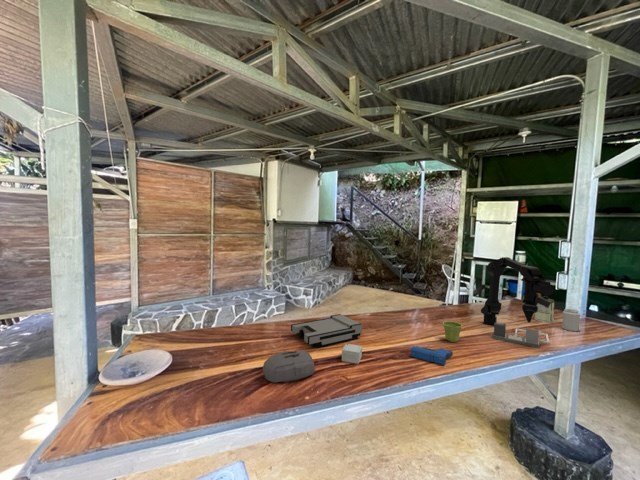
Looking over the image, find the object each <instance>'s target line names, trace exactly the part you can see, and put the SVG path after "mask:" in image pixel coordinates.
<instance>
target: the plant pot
mask: <svg viewBox="0 0 640 480" xmlns="http://www.w3.org/2000/svg"><path fill="white" fill-rule="evenodd" d="M442 325H443V327H444V335H445V336H444V337H445V340H446V341H448V342H451V343H452V342H453V343H457V342H459V339H460V333H461V329H462V327H463V324H461V323H459V322H456V321H450V320H445V321H443V322H442Z"/></svg>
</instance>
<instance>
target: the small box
mask: <svg viewBox="0 0 640 480" xmlns="http://www.w3.org/2000/svg"><path fill="white" fill-rule="evenodd" d="M362 349H363V346H362V345H357V344H352V343H345V345H344V346H343V347H342V349H341V361H342V362H346V363H352V364H357V365H359V364H360V361H361V359H362V355H363V353H362V352H363V350H362Z"/></svg>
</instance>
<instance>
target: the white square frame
mask: <svg viewBox="0 0 640 480" xmlns="http://www.w3.org/2000/svg"><path fill="white" fill-rule="evenodd" d="M518 332H523V333H526V329H521V328H515V332H514V335H516V336H519V337H524V338H526V336H522V335H518ZM539 335H540V336H544V337H545V339H546V340H544V339H543V340H542V339H538V340H539V343H543V344H548V345H549V344H550V339H549V335H548V333H544V332H539V334H538V336H539Z"/></svg>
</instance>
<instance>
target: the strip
mask: <svg viewBox="0 0 640 480" xmlns="http://www.w3.org/2000/svg"><path fill="white" fill-rule="evenodd" d="M519 336H520V335H518V336H516V335H515V334H513V335H512V334H509V333H508V334H507V333H505V337H501V336H496V335H494V332H493V334H492V337H491V338H492V339H494V340H499V341H503V342H508V343H512V344H517V345H522V346H527V347H533V348H538V349H540V342H539V340H540V339H538V344H536V343H531V342H526V338H524V337H525V336H523V337H519Z"/></svg>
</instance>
